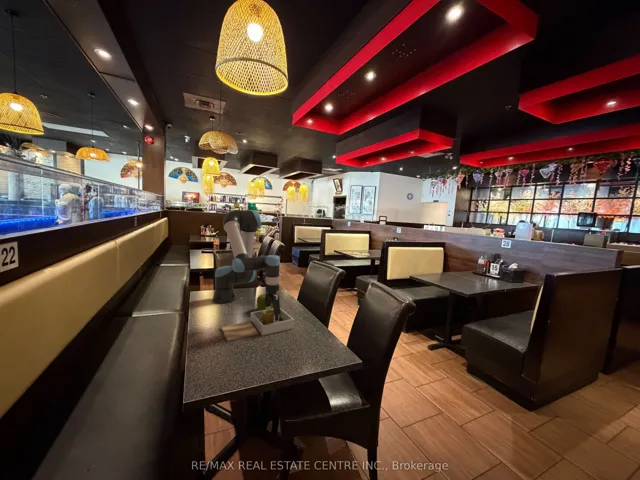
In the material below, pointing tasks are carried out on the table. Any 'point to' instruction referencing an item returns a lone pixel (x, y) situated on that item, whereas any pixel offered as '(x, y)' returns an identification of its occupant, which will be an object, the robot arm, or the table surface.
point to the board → (238, 330)
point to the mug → (267, 316)
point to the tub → (272, 327)
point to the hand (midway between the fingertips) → (271, 321)
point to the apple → (262, 303)
